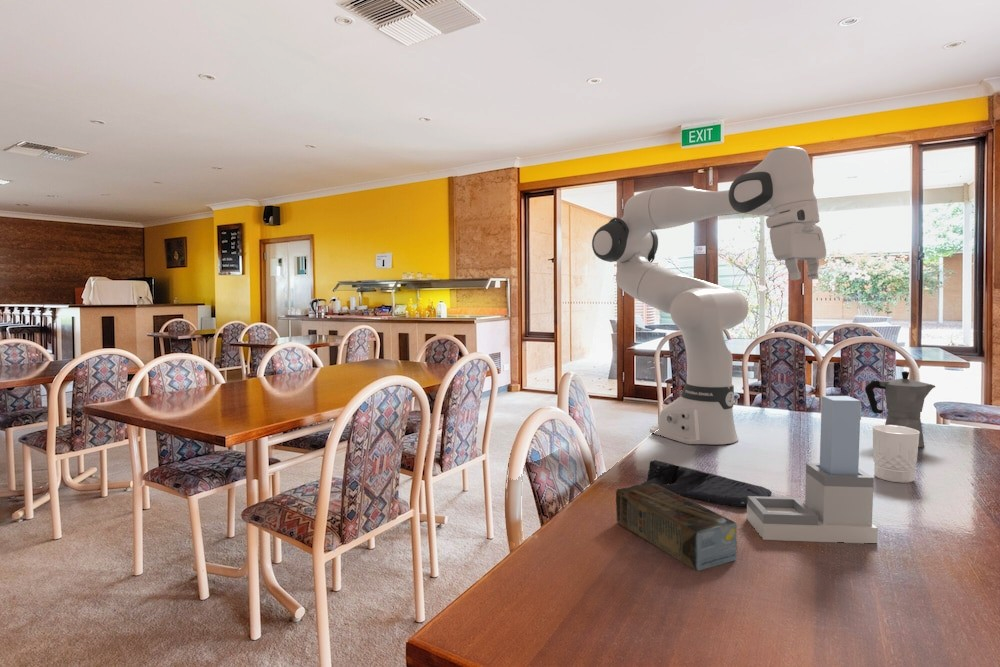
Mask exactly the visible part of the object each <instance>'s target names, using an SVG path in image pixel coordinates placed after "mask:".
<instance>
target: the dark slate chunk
mask: <svg viewBox="0 0 1000 667" xmlns="http://www.w3.org/2000/svg"><path fill="white" fill-rule="evenodd" d="M648 465H649V466H648V472H647V477H646V480H645V481H644V482H642V483H640V485H643V484H647V483H650V482H653V483H654V484H657V485H659V486H661V487H664V488H666V489H668V490H670V491H672V492H674V493H676V494H678V495H681V496H682V497H690V498H693V497H694V499H696V498H697V500H703V501H705V500H706V501H705V502H707V501H708V500H709V501H708V502H711V501H712V502H711V503H716V502H717V503H716V504H719V503H720V504H719V505H726V504H727V505H728V506H735V507H744V506H747V500H748V496H764V497H772V491H771V489H769V488H766V487H763V486H760V485H757V484H752V483H749V482H745V481H739V480H735V479H732V478H728V477H726V476H722V475H718V474H714V473H710V472H705V471H702V470H698V469H695V468H690V467H686V466H682V465H678V464H674V463H670V462H665V461H661V460H656V459H654V460H650V461H649V464H648ZM673 482H675V483H673ZM668 483H669V484H668ZM670 483H671V484H670Z"/></svg>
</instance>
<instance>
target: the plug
mask: <svg viewBox="0 0 1000 667" xmlns="http://www.w3.org/2000/svg"><path fill="white" fill-rule="evenodd" d="M861 402H862V400H860V399H857V398H854V397H852V396H850V395H821V406H820V407H821V411H820V415H821V416H820V442H819V443H820V444H819V445H820V446H819V447H820V450H819V463H820V469H821V470H823V471H824V472H826V473H827V474H829V475H858V468H859V461H860V435H861V434H860V432H861V431H860V430H861V420H862V404H861Z"/></svg>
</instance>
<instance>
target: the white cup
mask: <svg viewBox="0 0 1000 667" xmlns="http://www.w3.org/2000/svg"><path fill="white" fill-rule="evenodd" d="M919 434H920V432H919V431H918V430H915V429H912V428H908V427H902V426H893V425H885V424H880V425H879V424H878V425H874V426H873V427H872V451H873V452H872V453H873V454H872V455H873V456H872V457H873V458H872V459H873V465H874V466H873V467H874V469H873V471H874V476H875V477H877V478H878V479H880V480H883V481H888V482H892V483H903V484H904V483H905V484H906V483H913V482H914V481H915V472H916V469H917V461H918V452H919V448H918V444H919Z"/></svg>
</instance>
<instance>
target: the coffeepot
mask: <svg viewBox="0 0 1000 667" xmlns="http://www.w3.org/2000/svg"><path fill="white" fill-rule="evenodd" d="M909 374H910V372H909V371H901V376H902V378H897V379H890V380H889V379H888V380H871V381H870V382H869V383H868V384H867V385H866V386H865V387H864V388H865V389H864V391H865V393H866V395H867V399H868V403H869V404H870V405H869V406H870V408H871V411H872V413H874V414H883V411H884V409H879V408H878V402H877V400H876V397H875V392H874V389H881V390H884V393H885V394H884V395H885V403H886V409H887V416H886V419H885V420H886V421H885V424H884V425H893V426H902V427H908V428H912V429H915V430H918V431H919V432H920V434H919V444H918V447H921V448H924V447H925V441H924V435H923V427H922V420H921V413H922V411H923V409H924V404H925V399H926V397H927V396H928V395H929V393H930V392H931V391H932V390H933V389H934V388H936V385H934V384H929V383H926V382H922V381H916V380H915V379H914V380H913V379H909V376H910V375H909ZM923 446H924V447H923Z"/></svg>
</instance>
